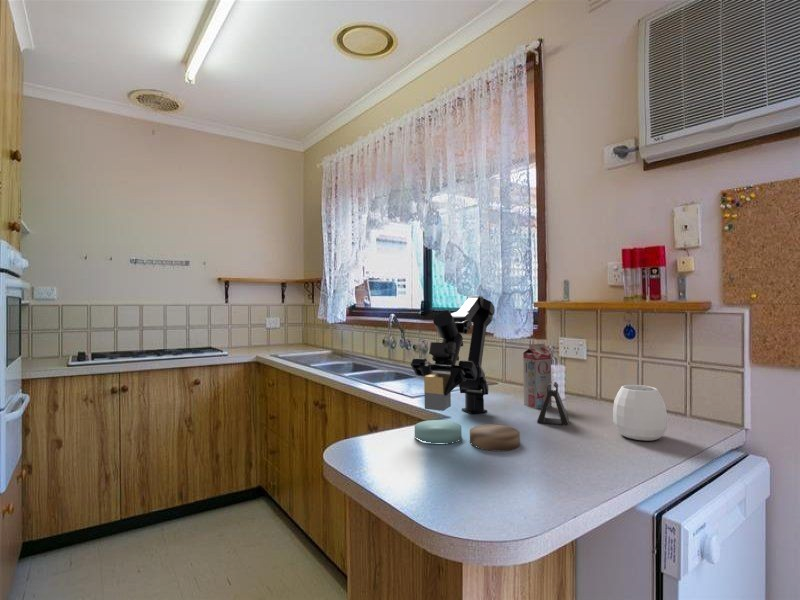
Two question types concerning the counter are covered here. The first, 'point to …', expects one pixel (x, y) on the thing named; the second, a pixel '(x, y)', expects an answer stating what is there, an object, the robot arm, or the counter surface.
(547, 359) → the juice carton
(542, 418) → the phone stand
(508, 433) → the stand
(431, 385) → the block
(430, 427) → the stand
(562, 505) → the counter surface
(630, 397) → the white faceted vase
